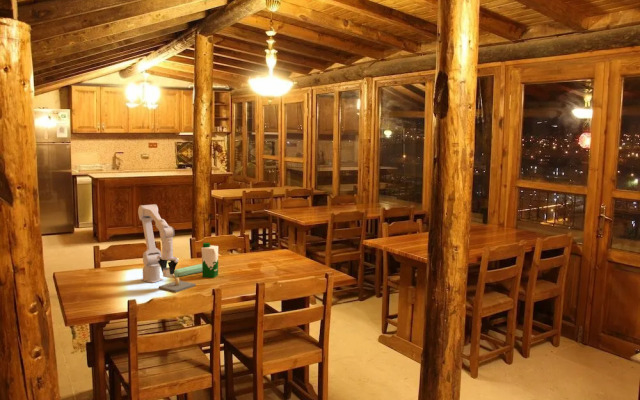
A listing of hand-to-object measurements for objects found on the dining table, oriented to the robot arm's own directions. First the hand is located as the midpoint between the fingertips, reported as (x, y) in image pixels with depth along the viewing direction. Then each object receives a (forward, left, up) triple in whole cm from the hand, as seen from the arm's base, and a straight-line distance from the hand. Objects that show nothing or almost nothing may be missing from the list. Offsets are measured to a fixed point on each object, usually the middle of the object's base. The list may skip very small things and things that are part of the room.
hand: (168, 273), depth 307 cm
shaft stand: (+3, +4, -8) cm, 10 cm away
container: (-10, +30, -9) cm, 33 cm away
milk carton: (+3, +31, -9) cm, 32 cm away
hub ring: (0, 0, -1) cm, 1 cm away
